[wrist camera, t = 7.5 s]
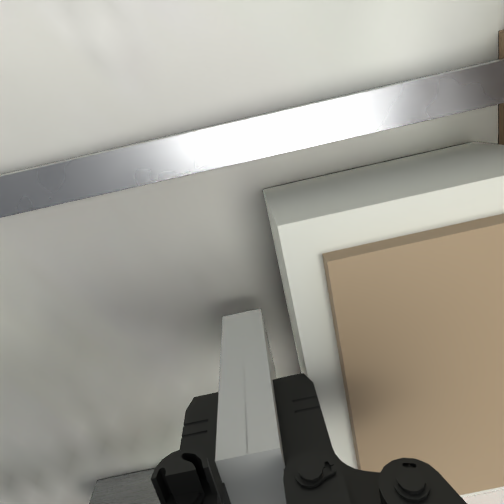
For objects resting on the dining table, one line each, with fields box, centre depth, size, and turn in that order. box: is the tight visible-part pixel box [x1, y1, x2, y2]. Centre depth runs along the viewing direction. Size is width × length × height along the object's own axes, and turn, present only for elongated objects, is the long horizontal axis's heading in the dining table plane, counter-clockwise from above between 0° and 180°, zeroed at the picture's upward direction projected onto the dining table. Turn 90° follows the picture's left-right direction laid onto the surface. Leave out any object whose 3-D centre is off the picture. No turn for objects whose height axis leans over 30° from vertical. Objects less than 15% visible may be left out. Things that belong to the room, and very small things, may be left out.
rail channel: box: [0, 58, 504, 504], centre depth 15 cm, size 20×16×4 cm
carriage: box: [263, 141, 504, 498], centre depth 14 cm, size 8×11×6 cm
